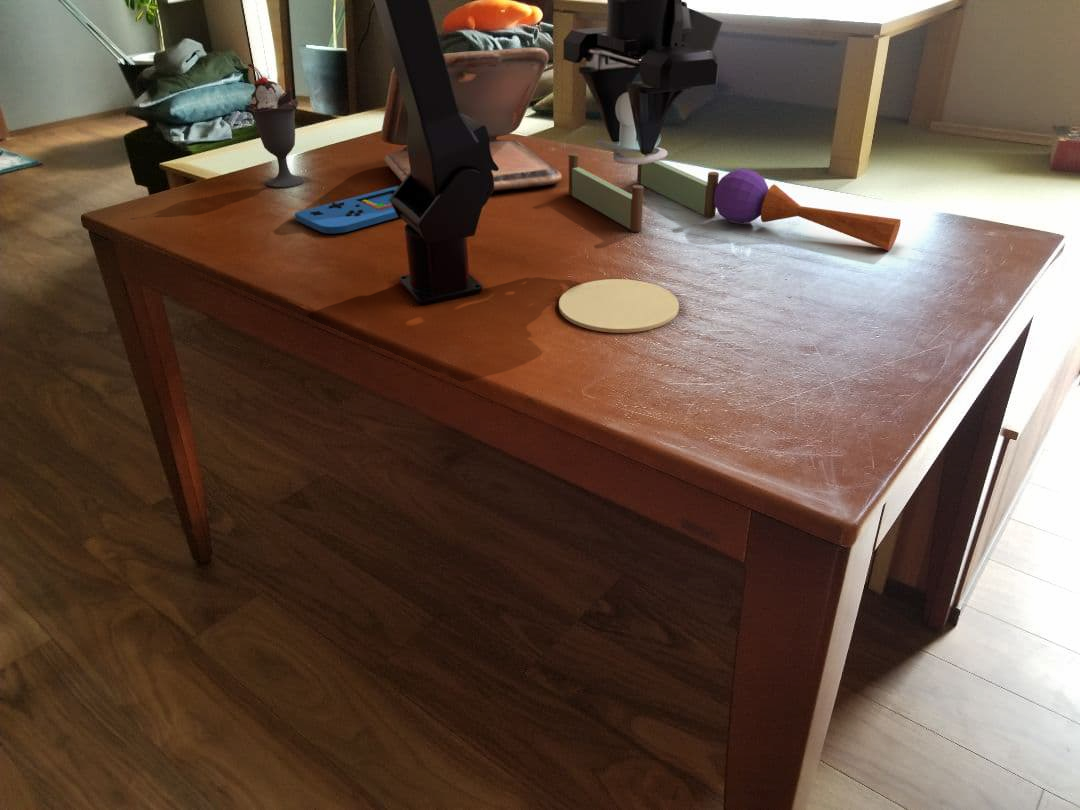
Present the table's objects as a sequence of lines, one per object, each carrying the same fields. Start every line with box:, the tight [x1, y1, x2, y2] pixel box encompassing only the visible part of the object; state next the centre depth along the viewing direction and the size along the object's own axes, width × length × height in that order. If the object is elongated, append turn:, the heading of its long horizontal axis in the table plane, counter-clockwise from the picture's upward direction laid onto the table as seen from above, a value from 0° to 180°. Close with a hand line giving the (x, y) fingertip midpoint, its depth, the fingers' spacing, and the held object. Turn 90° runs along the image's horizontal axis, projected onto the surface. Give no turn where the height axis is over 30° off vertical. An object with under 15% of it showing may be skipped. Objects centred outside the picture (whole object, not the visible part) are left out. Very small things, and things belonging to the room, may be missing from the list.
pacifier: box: [594, 92, 668, 166], centre depth 85 cm, size 7×6×6 cm
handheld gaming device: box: [294, 185, 400, 235], centre depth 103 cm, size 8×1×15 cm
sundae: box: [244, 62, 306, 189], centre depth 112 cm, size 7×7×15 cm
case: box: [380, 47, 563, 192], centre depth 113 cm, size 20×21×16 cm
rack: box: [568, 152, 720, 233], centre depth 103 cm, size 16×11×5 cm
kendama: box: [714, 168, 902, 252], centre depth 94 cm, size 6×6×20 cm
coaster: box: [558, 278, 680, 334], centre depth 80 cm, size 11×11×1 cm
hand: (631, 147), depth 87 cm, fingers closed on pacifier, 5 cm apart
